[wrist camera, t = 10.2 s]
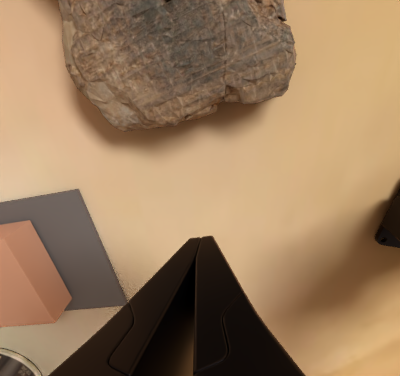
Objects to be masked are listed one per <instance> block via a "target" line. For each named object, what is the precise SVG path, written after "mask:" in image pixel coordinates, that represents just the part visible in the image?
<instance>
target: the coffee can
mask: <svg viewBox="0 0 400 376" xmlns="http://www.w3.org/2000/svg"><path fill="white" fill-rule="evenodd" d="M0 376H42V375H41V373H40V371H39V370H38V368H37V367H36V366H35V365H34V364H33V363H32V362H31V361H29V360H28V359H26V358H25V357H23V356H22V355H20V354H18V353H16V352H13V351H10V350H7V349H3V348H0Z"/></svg>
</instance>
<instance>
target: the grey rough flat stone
mask: <svg viewBox="0 0 400 376" xmlns="http://www.w3.org/2000/svg"><path fill="white" fill-rule="evenodd" d="M58 2H59V10H60V13H61V17H62V23H63V35H62V42H63V49H64V56H65V63H66V67H67V69H68V71H69V73H70V75H71V78H72V79H73V81H74V83H75V85H76V86H77V88H78V89H79V90H80V91H81V92H82V93H83V94H84V95H85V96H86V97H87V98H88V99H89V100H90V101H91V103H92V104H94V105H96V106H97V107H98V109H99V110H100V111H101V113H102V114H103V116H104V117H105V118H106V119H107V120H108V121H109V123H110V124H111V125H113V126H114V127H115V128H117V129H120V130H122V131H124V132H127V131H132V130H135V129H137V130H142V129H149V128H154V127H158V128H159V127H162V126H176V125H177V124H178V123H179V122H181V121H185V120H190V119H198V118H201V117H204V116H206V115H210V114H212V113H214V112H216V111H217V107H218V104H219V103H220V102H222V101H226V102H229V103H233V102H238V101H239V102H241V103H243V104H246V103H258V102H261V101H265V100H268V99H271V98H274V97H279V96H282V95H283V94H284V93H285V92H286V91H287V90H288V86H289V81H290V78H291V76H292V73H293V70H294V68H295V65H296V63H295V61H296V51H295V47H294V43H295V42H294V39H293V35H292V32H291V28H290V26H288V25H286V24H285V23H283V22H284V21H287V19H286V14H285V8H284V0H58Z"/></svg>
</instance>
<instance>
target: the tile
mask: <svg viewBox="0 0 400 376" xmlns="http://www.w3.org/2000/svg"><path fill="white" fill-rule="evenodd" d="M71 299H72V297H71V295H70V293H69V291H68V289H67V288H66V286H65V284H64V282H63V280H62V278H61V277H60V275H59V273H58V271H57V269H56V267H55V265H54V264H53V262H52V260H51V258H50V256H49V254H48V253H47V251H46V249H45V247H44V245H43V243H42V242H41V240H40V238H39V236H38V234H37V232H36V230H35V229H34V227H33V225H32V223H31V221H30V220H27V221H21V222H15V223H8V224H2V225H0V327H7V326H20V325H34V324H47V323H55V322H56V321H57V319H58V318H59V316H60V315H61V314H62V312H63V311H64V309H65V308H66V307H67V305H68V304H69V302H70V301H71Z"/></svg>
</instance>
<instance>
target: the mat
mask: <svg viewBox="0 0 400 376" xmlns="http://www.w3.org/2000/svg"><path fill="white" fill-rule="evenodd" d="M27 220H30V221H31V223H32V225H33V227H34V229H35V230H36V232H37V234H38V236H39V238H40V240H41V242H42V243H43V245H44V247H45V249H46V251H47V253H48V254H49V256H50V258H51V260H52V262H53V264H54V265H55V267H56V269H57V271H58V273H59V275H60V277H61V278H62V280H63V282H64V284H65V286H66V288H67V289H68V291H69V293H70V295H71V297H72V299H71V301H70V302H69V304H68V305H67V307H66V308H65V309H64V311H66V310H78V309H90V308H101V307H113V306H124V305H125V304H126V303H128V302H127V300H126V298H125V295H124V293H123V291H122V288H121V286H120V284H119V281H118V279H117V277H116V274H115V272H114V270H113V267H112V265H111V263H110V261H109V258H108V256H107V254H106V251H105V249H104V247H103V244H102V242H101V240H100V237H99V235H98V233H97V231H96V228H95V226H94V224H93V221H92V219H91V217H90V214H89V212H88V210H87V207H86V205H85V203H84V200H83V198H82V196H81V194H80V191H79V189H75V190H70V191H64V192H58V193H52V194H47V195H41V196H35V197H30V198H24V199H18V200H12V201H7V202H1V203H0V225H2V224H8V223H15V222H21V221H27Z"/></svg>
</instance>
